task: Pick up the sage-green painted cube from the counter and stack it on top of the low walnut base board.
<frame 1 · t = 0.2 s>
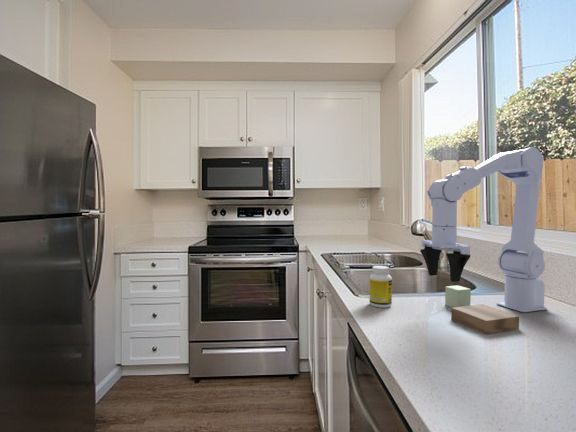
hand: (443, 278, 87), 10 cm above the countertop, fingers open, 7 cm apart
pill bottle: (380, 305, 96), on the countertop
walnut base: (483, 324, 81), on the countertop
sage cube: (457, 306, 95), on the countertop
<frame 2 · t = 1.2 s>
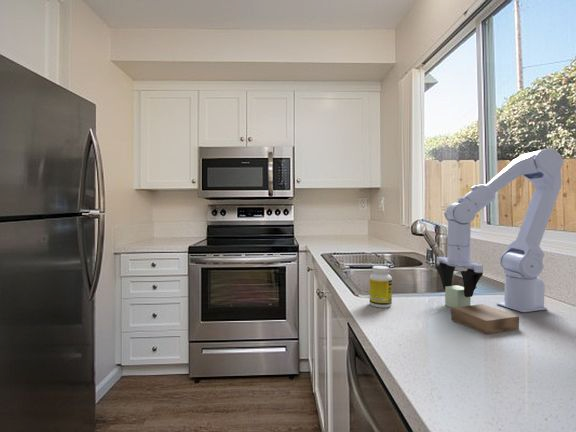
hand: (457, 293, 95), 4 cm above the countertop, fingers open, 7 cm apart
nothing on the countertop moved.
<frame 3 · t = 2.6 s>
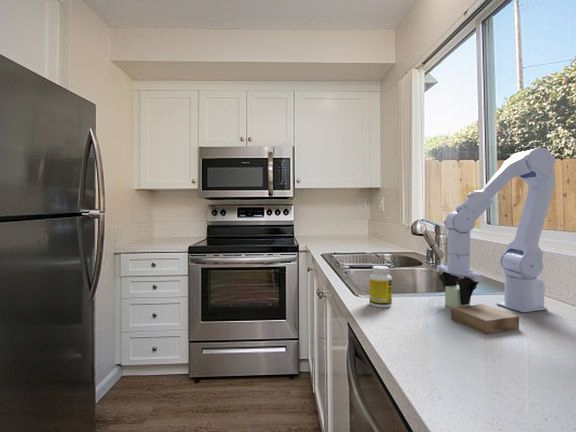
hand: (457, 301, 95), 1 cm above the countertop, fingers closed on sage cube, 4 cm apart
sage cube: (457, 306, 95), on the countertop, touching gripper
everything else where it was.
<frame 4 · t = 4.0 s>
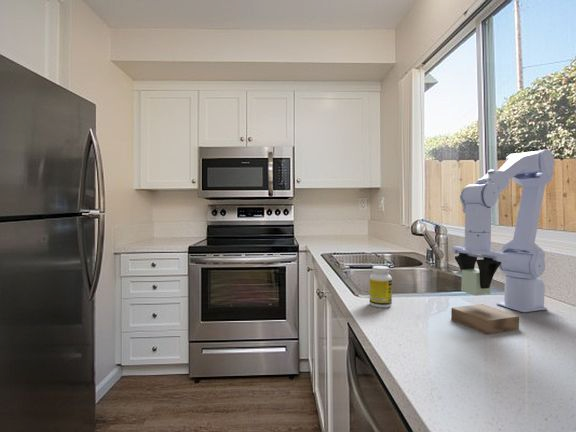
hand: (476, 285, 84), 8 cm above the countertop, fingers closed on sage cube, 4 cm apart
sage cube: (475, 292, 84), point 7 cm above the countertop, touching gripper
everything else where it was.
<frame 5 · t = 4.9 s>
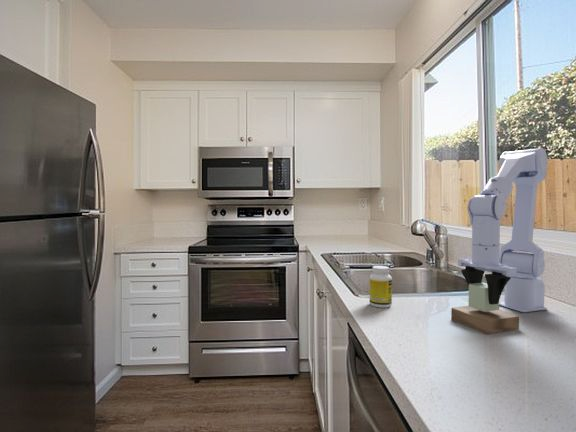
hand: (484, 300, 81), 6 cm above the countertop, fingers closed on sage cube, 4 cm apart
sage cube: (483, 307, 81), point 4 cm above the countertop, touching gripper
everything else where it was.
when the fingers open (6 cm above the countertop, at t = 5.6 s): sage cube stays where it is, resting on walnut base.
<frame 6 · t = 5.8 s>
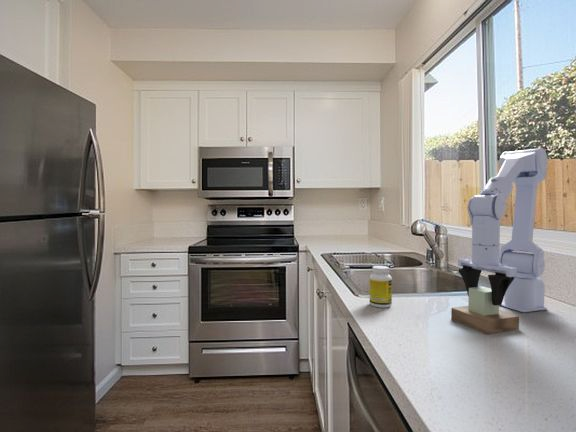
hand: (484, 300, 81), 6 cm above the countertop, fingers open, 6 cm apart
sage cube: (483, 311, 81), point 3 cm above the countertop, touching walnut base
everything else where it was.
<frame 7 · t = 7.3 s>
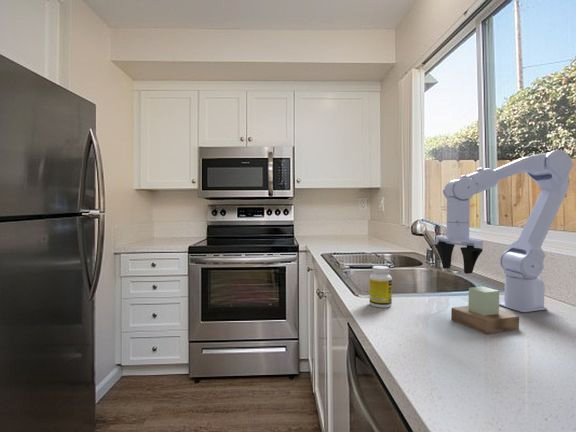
hand: (457, 270, 94), 10 cm above the countertop, fingers open, 7 cm apart
nothing on the countertop moved.
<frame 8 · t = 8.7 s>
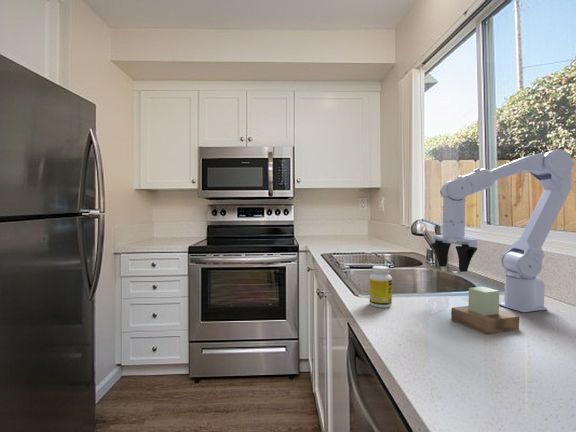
hand: (452, 268, 96), 10 cm above the countertop, fingers open, 7 cm apart
nothing on the countertop moved.
at the end: sage cube inside the target area on the walnut base (0.2 cm from its centre), point 3.0 cm above the walnut base's base; sage cube tilted 0°; the gripper is holding nothing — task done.
